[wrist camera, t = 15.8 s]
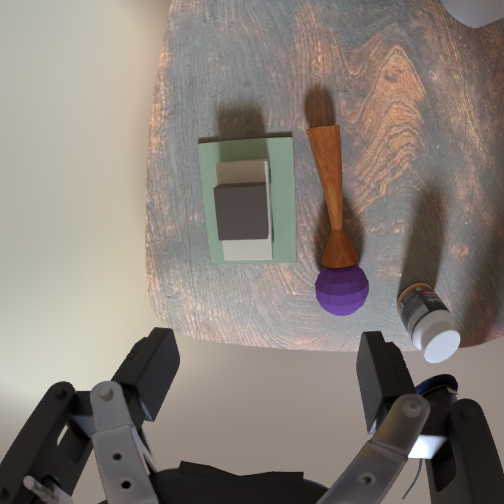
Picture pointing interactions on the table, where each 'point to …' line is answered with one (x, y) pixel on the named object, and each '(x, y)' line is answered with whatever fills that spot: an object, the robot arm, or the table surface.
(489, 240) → the table surface
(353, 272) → the kendama
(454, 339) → the pill bottle
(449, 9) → the white cylinder
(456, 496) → the robot arm
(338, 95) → the table surface
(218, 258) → the mat
